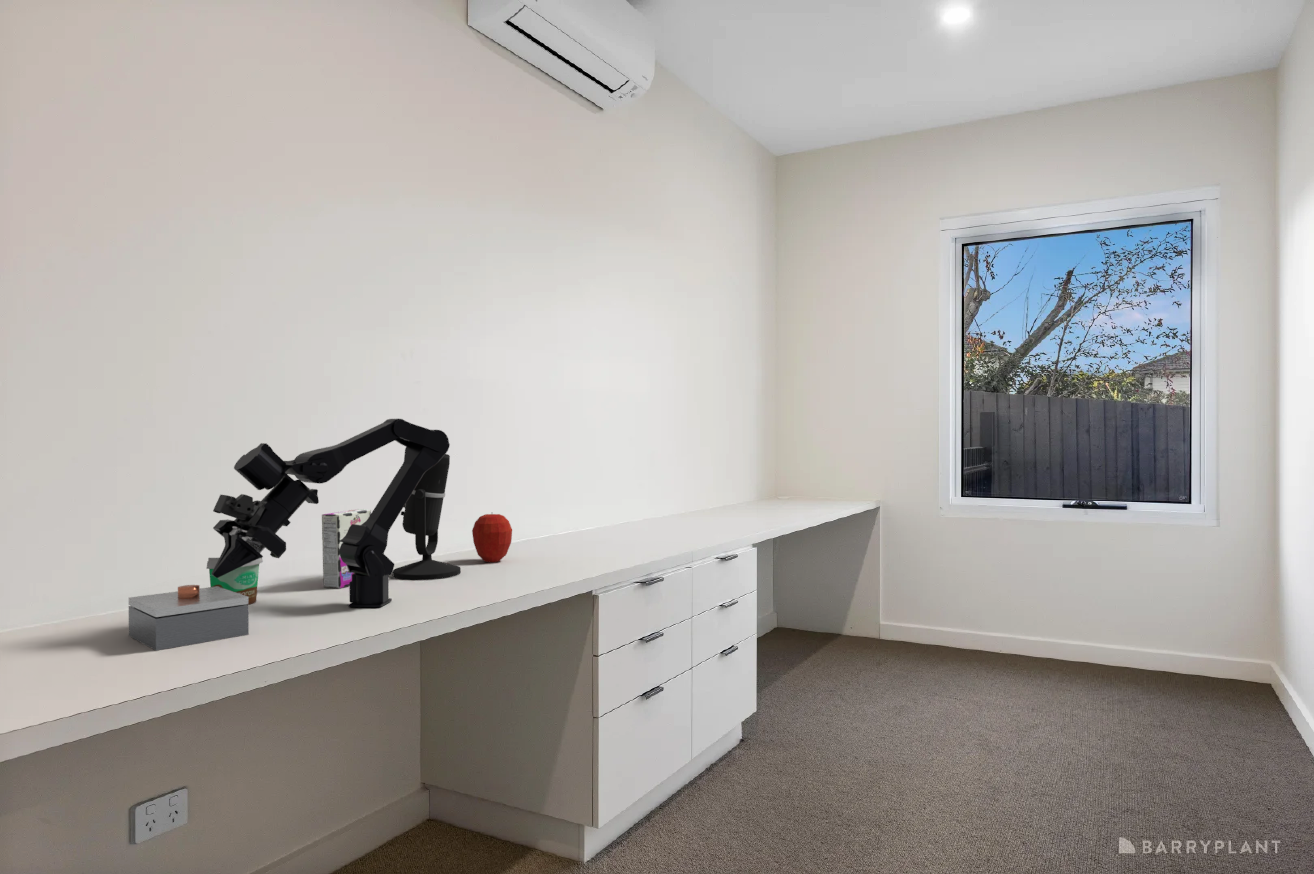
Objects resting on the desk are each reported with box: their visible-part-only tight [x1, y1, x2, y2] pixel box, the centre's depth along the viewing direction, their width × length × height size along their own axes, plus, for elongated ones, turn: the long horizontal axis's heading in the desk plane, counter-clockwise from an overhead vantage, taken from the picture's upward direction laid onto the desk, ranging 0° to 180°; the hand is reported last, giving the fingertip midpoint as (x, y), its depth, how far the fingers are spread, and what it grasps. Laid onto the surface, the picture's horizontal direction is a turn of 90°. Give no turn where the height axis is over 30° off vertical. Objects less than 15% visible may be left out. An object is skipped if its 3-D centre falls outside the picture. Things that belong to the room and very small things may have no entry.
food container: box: [206, 557, 264, 606], centre depth 165 cm, size 12×6×10 cm, turn 168°
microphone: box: [392, 453, 462, 581], centre depth 199 cm, size 16×16×30 cm
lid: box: [128, 584, 248, 617], centre depth 139 cm, size 14×14×3 cm
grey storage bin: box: [128, 604, 250, 652], centre depth 139 cm, size 14×14×5 cm
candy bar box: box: [321, 508, 372, 589], centre depth 186 cm, size 11×5×16 cm, turn 161°
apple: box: [471, 513, 513, 563], centre depth 218 cm, size 10×10×14 cm
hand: (214, 576), depth 142 cm, fingers closed
